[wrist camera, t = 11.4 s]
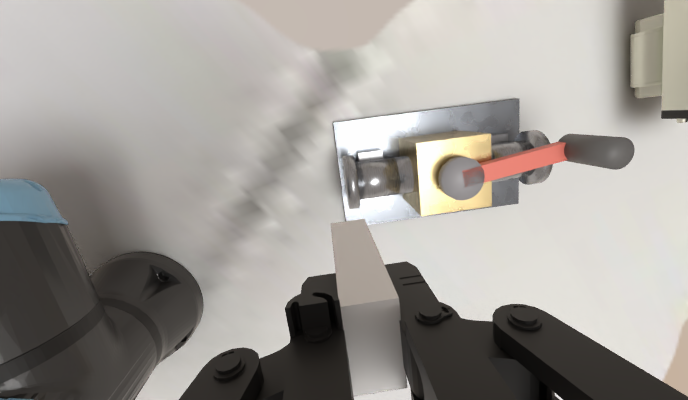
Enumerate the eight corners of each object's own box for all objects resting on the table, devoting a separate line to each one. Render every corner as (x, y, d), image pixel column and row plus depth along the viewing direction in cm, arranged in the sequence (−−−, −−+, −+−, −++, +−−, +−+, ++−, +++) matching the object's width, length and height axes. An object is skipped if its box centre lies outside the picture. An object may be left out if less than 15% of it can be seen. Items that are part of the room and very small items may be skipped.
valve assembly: (346, 225, 45) (353, 253, 36) (333, 122, 42) (336, 124, 33) (514, 201, 46) (563, 223, 37) (515, 98, 43) (570, 93, 33)
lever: (442, 202, 35) (466, 219, 29) (434, 162, 34) (458, 171, 28) (582, 164, 35) (635, 173, 29) (580, 123, 34) (633, 124, 28)
